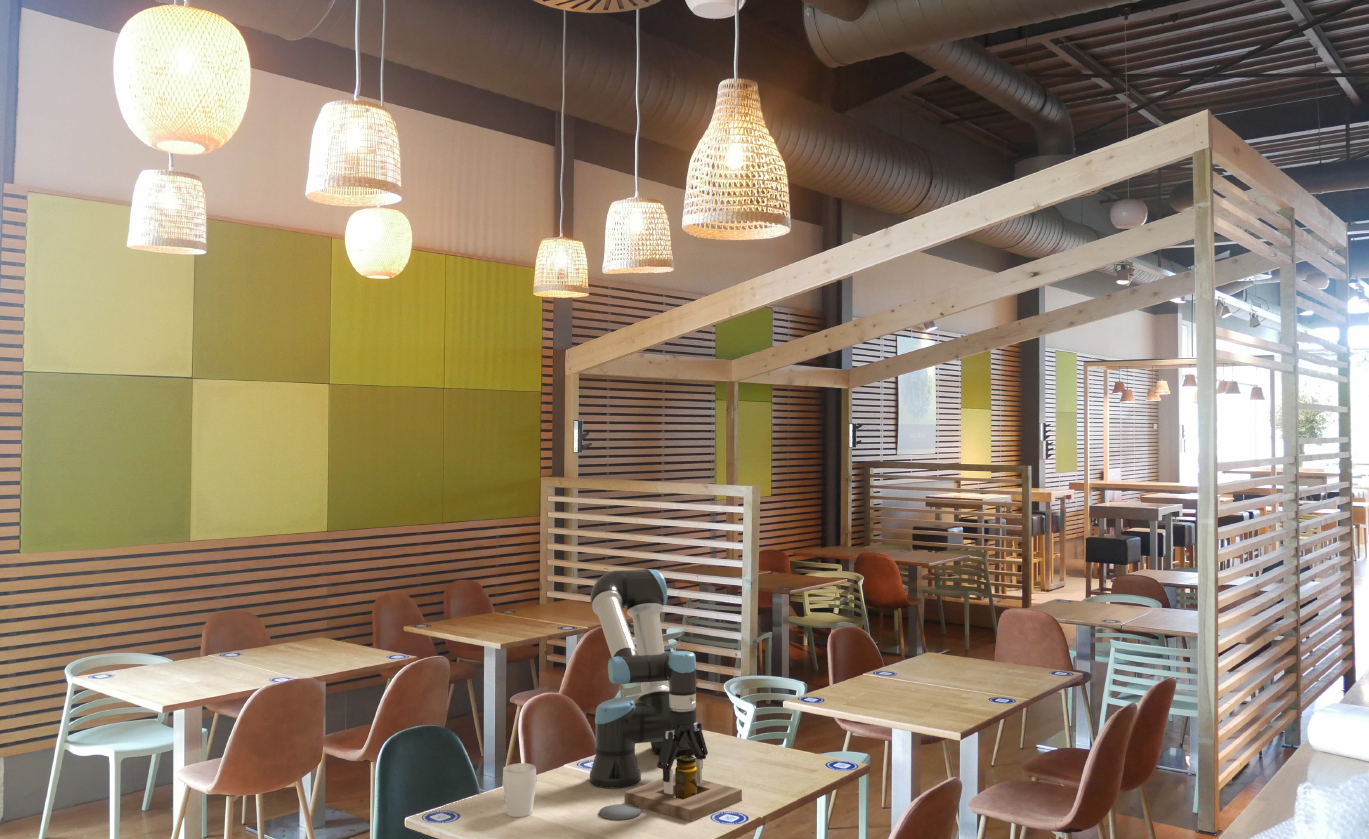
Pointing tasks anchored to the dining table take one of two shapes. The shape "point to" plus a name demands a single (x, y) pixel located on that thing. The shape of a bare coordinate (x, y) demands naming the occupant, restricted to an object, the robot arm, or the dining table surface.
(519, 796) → the cup
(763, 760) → the dining table surface
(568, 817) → the dining table surface
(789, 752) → the dining table surface
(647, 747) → the dining table surface
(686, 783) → the condiment
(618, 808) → the coaster
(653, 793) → the holder board
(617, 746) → the robot arm
